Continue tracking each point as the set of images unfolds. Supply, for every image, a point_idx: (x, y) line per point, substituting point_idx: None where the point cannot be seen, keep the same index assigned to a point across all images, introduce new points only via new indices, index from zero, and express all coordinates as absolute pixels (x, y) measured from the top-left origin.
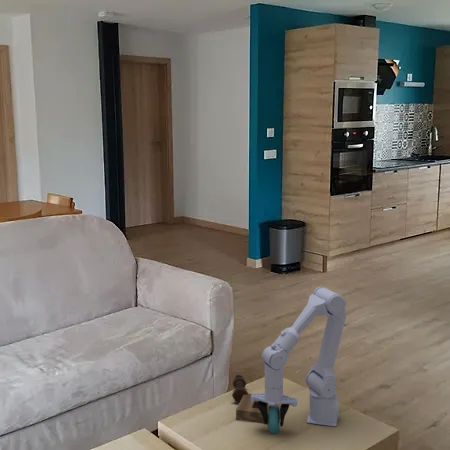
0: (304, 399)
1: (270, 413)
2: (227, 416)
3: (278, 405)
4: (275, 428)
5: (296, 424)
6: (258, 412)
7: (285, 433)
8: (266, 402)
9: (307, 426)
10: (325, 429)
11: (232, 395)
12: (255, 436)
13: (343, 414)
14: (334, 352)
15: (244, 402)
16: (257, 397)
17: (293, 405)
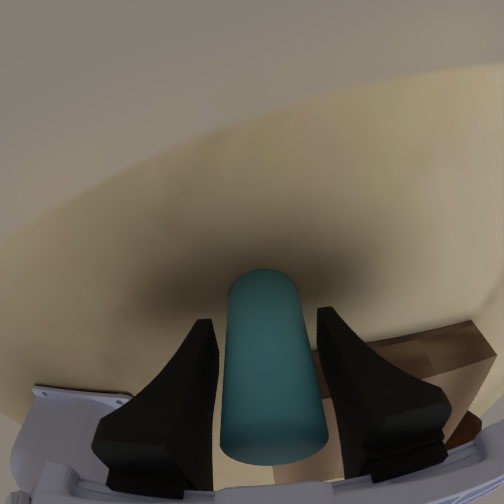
0: (217, 481)
1: (296, 386)
2: (498, 324)
3: None
4: (244, 297)
5: None
6: None
7: (185, 297)
8: (366, 491)
9: (116, 375)
10: (47, 366)
11: (481, 422)
12: (367, 203)
13: None
14: None
15: (450, 415)
16: (475, 489)
17: (60, 475)
